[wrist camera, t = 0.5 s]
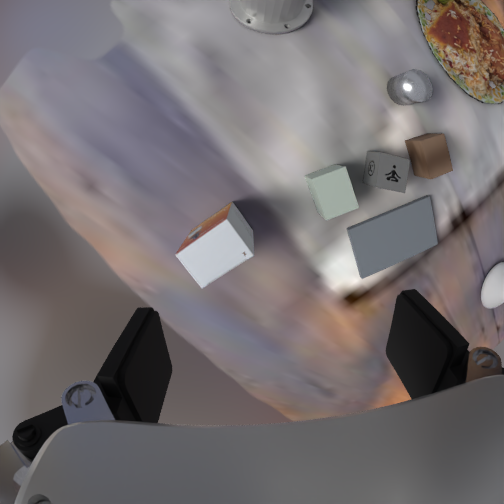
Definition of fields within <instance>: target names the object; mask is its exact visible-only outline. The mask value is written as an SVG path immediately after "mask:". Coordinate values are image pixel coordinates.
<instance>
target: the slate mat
mask: <svg viewBox="0 0 504 504" xmlns="http://www.w3.org/2000/svg"><path fill="white" fill-rule="evenodd" d="M347 232H348V235H349V238H350V242H351V245H352V249H353V252H354V256H355V259H356V263H357V267H358V270H359V274H360V277H361V278H362V279H363V278H365V277H367V276H370V275H372V274H374V273H377V272H379V271H381V270H383V269H386V268H388V267H390V266H392V265H394V264H397V263H399V262H401V261H403V260H405V259H407V258H410V257H412V256H414V255H416V254H418V253H420V252H422V251H424V250H426V249H428V248H430V247H433V246H435V245H437V244H438V242H437V235H436V228H435V222H434V216H433V211H432V205H431V200H430V196H427V195H426V196H424V197H422V198H419V199H417V200H414V201H412V202H409V203H407V204H405V205H402V206H400V207H397V208H395V209H392V210H390V211H388V212H385V213H383V214H380V215H378V216H375V217H373V218H370V219H368V220H366V221H363V222H361V223H358V224H356V225H353V226H351V227H348V228H347Z"/></svg>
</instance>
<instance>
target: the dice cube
mask: <svg viewBox="0 0 504 504" xmlns="http://www.w3.org/2000/svg"><path fill="white" fill-rule="evenodd" d="M409 164H410V160H409V159H406V158H402V157H398V156H394V155H390V154H386V153H382V152H370V151H367V156H366V164H365V171H364V178H363V183H365V184H368V185H371V186H373V187H377V188H382V189H387V190H392V191H397V192H402V193H405V190H406V184H407V178H408V171H409Z"/></svg>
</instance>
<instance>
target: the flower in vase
mask: <svg viewBox="0 0 504 504" xmlns="http://www.w3.org/2000/svg"><path fill="white" fill-rule="evenodd" d="M481 300H482V304H483V305H484V307H486V308H495V307H497V306H499V305H501V304H502V303H504V262H501V263H498V264H497V265H495V266H494V267H493V268H492V269H491V270H490V272H489V273H488V275H487V276H486V278H485V280H484V283H483V286H482V290H481Z"/></svg>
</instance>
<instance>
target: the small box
mask: <svg viewBox="0 0 504 504" xmlns="http://www.w3.org/2000/svg"><path fill="white" fill-rule="evenodd" d="M176 256H177V258H178V259H179V260H180V261H181V263H182V264H183V265H184V267H185V268H186V269H187V270H188V272H189V273H190V274H191V275H192V277H193V278H194V279H195V280H196V282H197V283H198V284H199V285H200V287H201V288H204V287H206V286H207V285H208V284H210V283H211V282H213V281H214V280H216V279H217V278H219V277H221V276H222V275H224V274H225V273H227V272H228V271H230V270H232V269H233V268H235V267H236V266H238V265H239V264H241V263H243V262H244V261H246V260H248V259H250V258H252V257H253V256H254V241H253V230H252V229H251V227H250V226H249V224H248V223H247V221H246V220H245V219H244V217H243V216H242V214H241V213H240V211H239V210H238V209H237V207H236V206H235V204H234V203H233V202H231V203H229V204H228V205H227V206H225V207H224V208H223V209H221V210H220V211H218V212H217V213H216V214H214V215H213V216H211V217H210V218H208V219H207V220H205V221H204V222H202V223H201V224H200V225H198V226H197V227H195V228H194V229H193V230H191V232H190V233H189V235H188V236H187V238H186V239H185V241H184V242H183V244H182V245H181V247H180V248H179V250H178V251H177V253H176Z"/></svg>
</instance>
